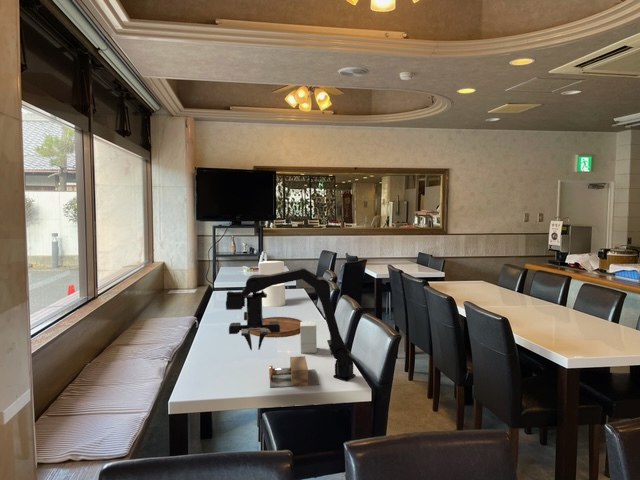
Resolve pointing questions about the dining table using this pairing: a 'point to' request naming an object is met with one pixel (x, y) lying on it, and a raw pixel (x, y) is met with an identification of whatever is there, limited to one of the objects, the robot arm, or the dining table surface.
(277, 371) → the pin
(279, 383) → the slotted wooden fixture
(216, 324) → the dining table surface
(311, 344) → the supplement box
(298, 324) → the cutting board
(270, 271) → the cylinder
